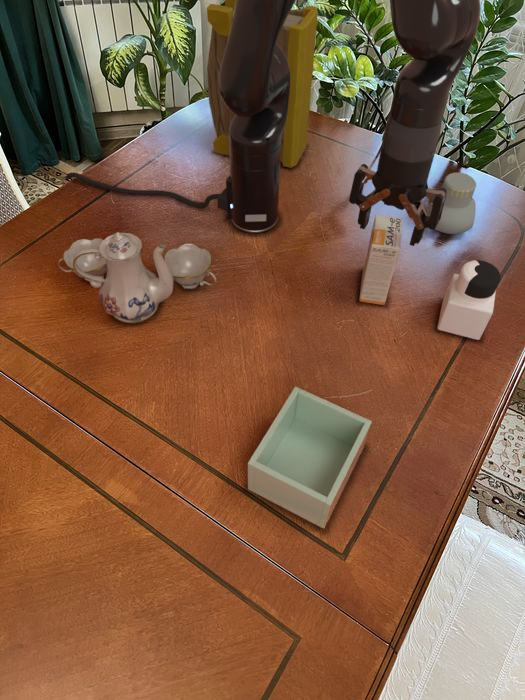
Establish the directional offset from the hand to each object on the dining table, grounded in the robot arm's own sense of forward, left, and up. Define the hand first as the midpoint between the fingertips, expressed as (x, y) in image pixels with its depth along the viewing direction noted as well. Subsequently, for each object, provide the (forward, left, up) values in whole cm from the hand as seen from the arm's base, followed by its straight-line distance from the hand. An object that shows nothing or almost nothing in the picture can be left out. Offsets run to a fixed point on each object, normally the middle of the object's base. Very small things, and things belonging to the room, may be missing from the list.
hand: (388, 234), depth 93 cm
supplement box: (0, 0, -13) cm, 13 cm away
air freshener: (+6, +24, -13) cm, 28 cm away
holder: (+5, -38, -12) cm, 40 cm away
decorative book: (-39, +28, -13) cm, 50 cm away
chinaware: (-36, -22, -13) cm, 44 cm away
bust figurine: (+16, 0, -13) cm, 20 cm away
